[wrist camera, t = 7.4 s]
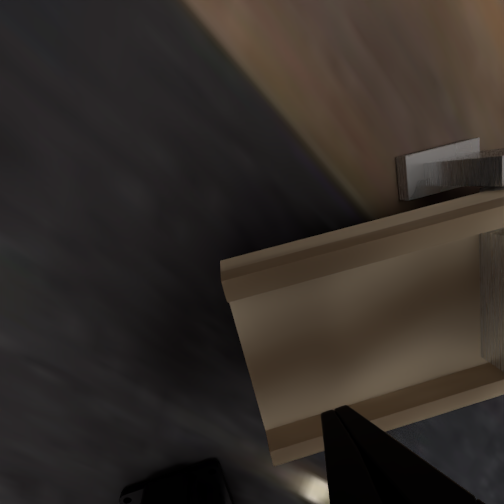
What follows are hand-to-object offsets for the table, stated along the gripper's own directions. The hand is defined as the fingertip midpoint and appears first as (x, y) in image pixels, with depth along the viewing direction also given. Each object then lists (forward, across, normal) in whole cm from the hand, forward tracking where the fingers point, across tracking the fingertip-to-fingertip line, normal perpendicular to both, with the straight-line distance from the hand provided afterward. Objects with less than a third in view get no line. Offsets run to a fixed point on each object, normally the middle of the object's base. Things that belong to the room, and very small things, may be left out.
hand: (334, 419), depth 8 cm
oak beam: (+5, -11, 0) cm, 12 cm away
